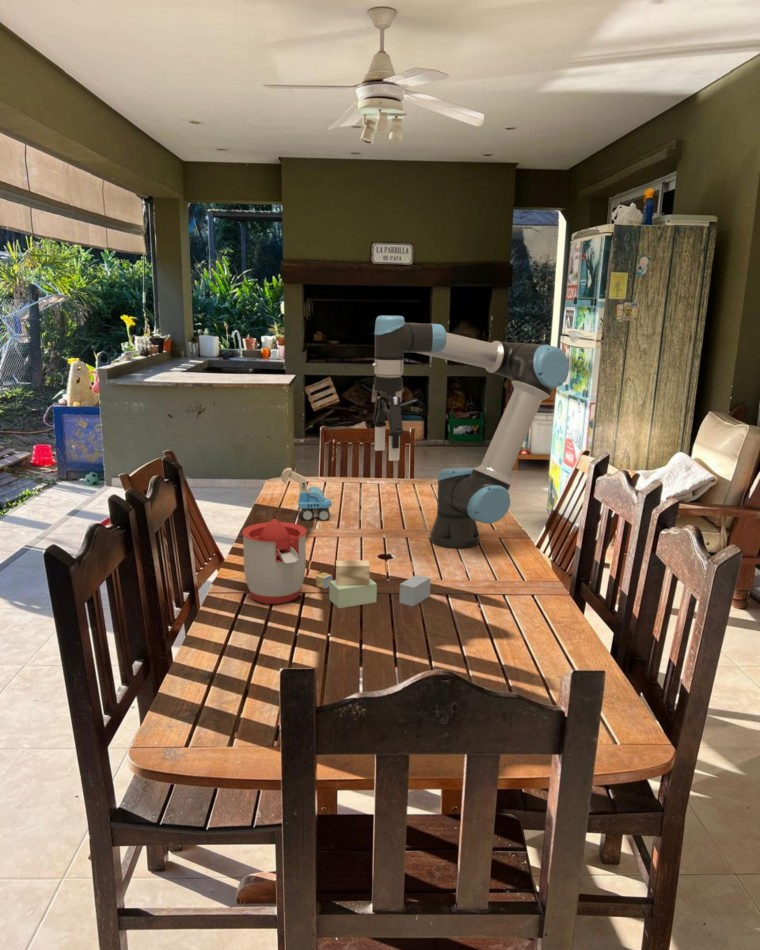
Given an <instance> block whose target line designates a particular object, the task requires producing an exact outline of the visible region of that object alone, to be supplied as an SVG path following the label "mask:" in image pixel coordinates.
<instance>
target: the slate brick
mask: <svg viewBox="0 0 760 950" xmlns="http://www.w3.org/2000/svg"><path fill="white" fill-rule="evenodd" d="M430 593H431V577H427V576H424V575H423V576H422V575H419V574H415V575H413V576H412V577H410V578H408V579H406V580H405V581H403V582H401V583H399V598H398V599H399V602H398V603H399V604H403V605H405V606H410V607H415V606H417V605H418V604H420V603H422V602H423V601H425V600H427V599H428V598H429V597H431V594H430Z"/></svg>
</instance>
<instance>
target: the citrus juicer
mask: <svg viewBox="0 0 760 950" xmlns="http://www.w3.org/2000/svg"><path fill="white" fill-rule="evenodd" d="M307 533H308V531H307V529H306V527H304V526H302V525H300V524H297V523H292V522H286V521H285V522H284V521H279V520H278V519H276V518H272V519H271V520H270V521H268V522H262V523H261V522H260V523H255V524H251V525H249V526H247V527H245V528H243V530H242V532H241V534H242V537H243V538H242V541H243V544H242V546H243V547H242V548H243V571H244V577H245V581H246V584H247V589H248V592H249V594H250V596H251V598H252V599H253V600H255V601H256V602H259V603H263V604H266V605H273V604H283V603H289V602H292V601H294V600H296V599H297V598H298V597H299V595H300V593H301V590H302V587H303V583H304V580H305V574H306V564H307V563H306V560H307V559H306V556H307V553H306V552H307V551H306V544H307V543H306V540H307V539H306V538H307V536H306V534H307Z"/></svg>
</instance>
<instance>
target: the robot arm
mask: <svg viewBox="0 0 760 950" xmlns="http://www.w3.org/2000/svg"><path fill="white" fill-rule="evenodd" d="M404 353H406V354H407V353H416V354H421V355H424V356H430V357H433V358H438V359H442V360H447V361H452V362H456V363H461V364H465V365H471V366H476V367H478V368H484V369H485V371H486V372H488V373H489V374H490V373H491V374H495V375H499V376H501V377H503V378H507V379H509V380H511V384H512V387H513V392H512V394H511V396H510V398H509V400H508V403H507V405H506V407H505V409H504V412H503V414H502V416H501V418H500V421H499V423H498V426H497V428H496V429H495V432H494V435H493V437H492V439H491V441H490V444H489V446H488V447H487V450H486V452H485V455H484V457H483V459H482V462H481V463H480V465H478V466H475V467H466V466H465V467H461V466H460V467H447V468H443V469H440V470H439V472H438V478H437V505H436V506H437V507H436V517H435V520H434V523H433V526H432V529H431V531H430V537H429V538H430V539H429V540H430V542H431V543H432V544H434V545H437V546H439V547H442V548H443V547H444V548H448V549H449V548H450V549H467V548H473V547H477V545H479V544H480V537H481V536H480V532H479V528H478V525H477V522H478V523H482V524H487V525H488V524H493V523H496V522H498V521H500V520H502V519H503V518H504V516H505V515H506V514H507V513H508V511H509V509H510V506H511V499H510V493H509V489H510V487H511V482H510V479H509V476H510V475H511V471H512V470H513V467H514V465H515V463H516V461H517V458H518V455H519V454H520V452H521V449H522V447H523V444H524V442H525V440H526V437H527V436H528V433H529V431H530V429H531V426H532V424H533V423H534V421H535V417H536V415H537V413H538V411H539V409H540V406H541V404H542V402H543V401H545V400H547V399H549V398H550V397H551V394H552V392H553V390H554V389H557V388H559V387H560V386H562V385H563V384H564V383H565V382H566V380H567V378H568V375H569V373H570V371H569V370H570V366H569V361H568V357H567V355H566V353H565V352H564V351H563V350H562V349H560V348H559V347H557V346H553V345H549V344H537V343H528V342H505V341H499V340H494V341H492V342H489V341H483V340H479V339H476V338H473V337H472V338H471V337H468V336H464V335H459V334H456V333H451V332H447V331H446V329H445V327H444V326H443V325H442V324H440V323H432V322H431V323H419V322H405V317H404V316H402V315H378V316H377V317H376V319H375V324H374V362H373V363H372V367H374V371H373V372H374V374H375V376H374V378H373V389H374V391H376V398H375V405H374V412H373V417H372V423H373V425H374V451H376V452H378V451H385V450H386V427H387V424H388V428H389V432H388V434H387V436H388V461H389V462H391V461H393V462H394V461H400V454H401V449H400V448H401V447H400V446H401V435H403V434H404V430H403V429H404V428H403V419H402V418H403V417H402V411H401V397H400V396H397V395H396V393H398V392H401V391H402V390H403V384H404V383H403V382H404V381H403V379H404V378H403V376H402V375H403V374H404ZM386 420H387V422H388V423H386Z"/></svg>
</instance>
